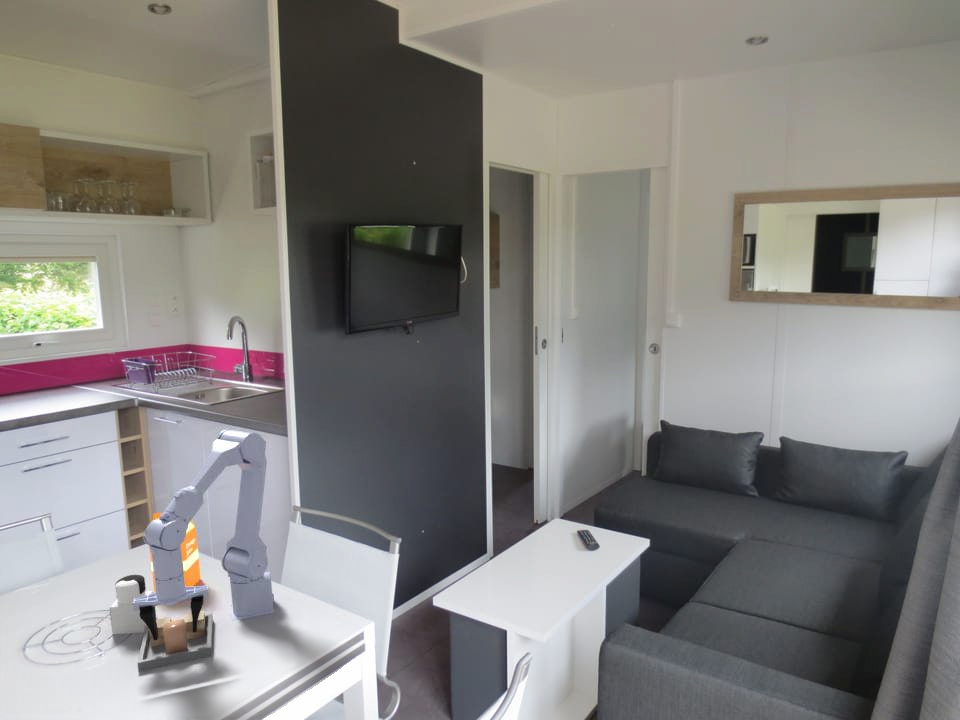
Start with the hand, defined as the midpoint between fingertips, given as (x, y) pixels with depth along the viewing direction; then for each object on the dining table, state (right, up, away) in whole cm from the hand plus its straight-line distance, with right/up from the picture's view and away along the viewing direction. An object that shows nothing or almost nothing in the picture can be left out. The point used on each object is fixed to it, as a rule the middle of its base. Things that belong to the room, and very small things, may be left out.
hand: (175, 633), depth 146 cm
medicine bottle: (-15, -3, +12) cm, 19 cm away
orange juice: (-13, 0, +31) cm, 34 cm away
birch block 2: (+1, -3, +7) cm, 8 cm away
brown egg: (0, -4, 0) cm, 4 cm away
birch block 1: (-5, -3, +5) cm, 8 cm away
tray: (-1, -4, +3) cm, 5 cm away
